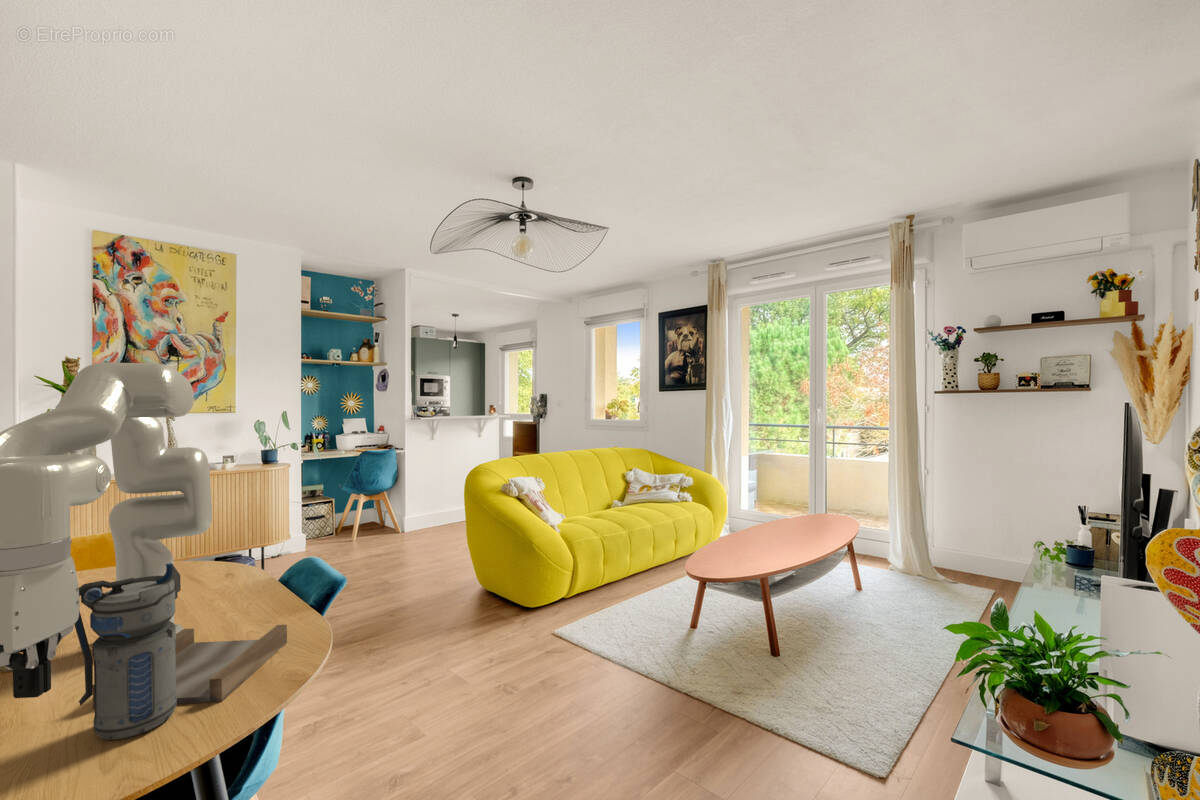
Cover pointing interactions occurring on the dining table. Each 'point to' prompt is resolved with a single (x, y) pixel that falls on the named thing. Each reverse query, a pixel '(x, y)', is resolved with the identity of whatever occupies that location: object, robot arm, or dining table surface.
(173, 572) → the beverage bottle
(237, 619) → the dining table surface
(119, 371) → the robot arm
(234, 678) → the u rest
